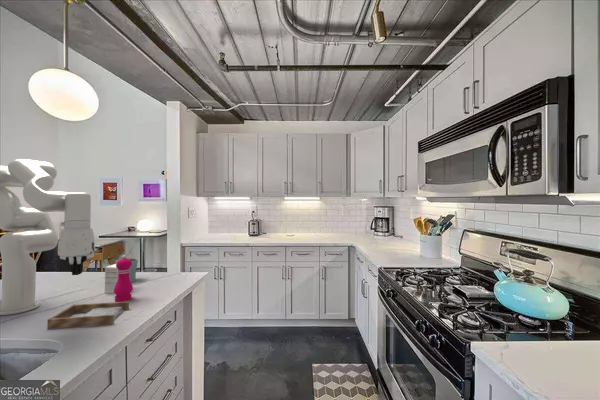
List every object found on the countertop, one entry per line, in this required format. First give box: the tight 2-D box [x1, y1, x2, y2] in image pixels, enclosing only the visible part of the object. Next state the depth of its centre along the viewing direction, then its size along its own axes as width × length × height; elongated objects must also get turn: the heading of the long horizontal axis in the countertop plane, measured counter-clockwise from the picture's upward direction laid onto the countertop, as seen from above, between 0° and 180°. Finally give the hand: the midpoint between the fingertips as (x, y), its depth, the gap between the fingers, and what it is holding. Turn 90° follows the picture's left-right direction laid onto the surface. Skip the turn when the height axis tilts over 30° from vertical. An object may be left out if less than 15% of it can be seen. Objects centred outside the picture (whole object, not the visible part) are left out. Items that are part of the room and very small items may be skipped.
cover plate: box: [81, 307, 123, 320], centre depth 101 cm, size 10×9×2 cm
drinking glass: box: [115, 257, 139, 284], centre depth 146 cm, size 10×10×12 cm
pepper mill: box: [113, 254, 134, 302], centre depth 120 cm, size 7×7×20 cm
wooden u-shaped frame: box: [46, 301, 130, 329], centre depth 100 cm, size 20×14×3 cm
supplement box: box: [104, 263, 118, 294], centre depth 131 cm, size 7×7×13 cm
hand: (77, 274), depth 99 cm, fingers closed
